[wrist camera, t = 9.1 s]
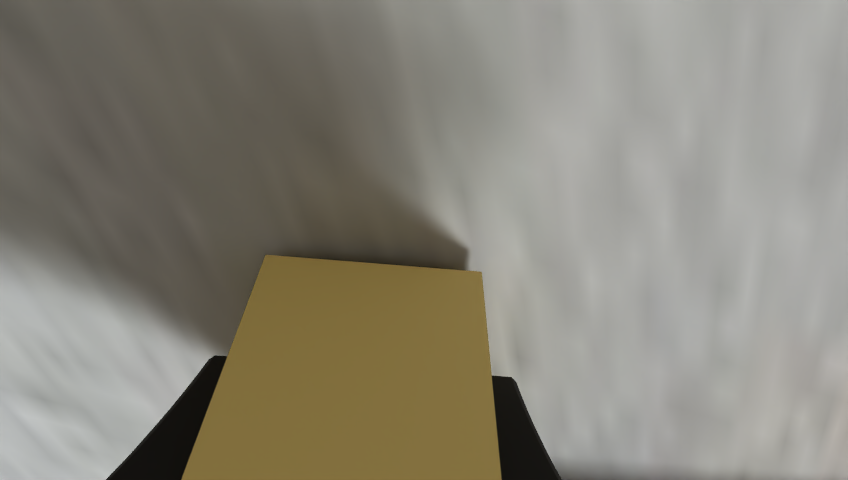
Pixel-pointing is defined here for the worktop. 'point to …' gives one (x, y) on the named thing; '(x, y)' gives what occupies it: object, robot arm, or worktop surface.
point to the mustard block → (354, 378)
